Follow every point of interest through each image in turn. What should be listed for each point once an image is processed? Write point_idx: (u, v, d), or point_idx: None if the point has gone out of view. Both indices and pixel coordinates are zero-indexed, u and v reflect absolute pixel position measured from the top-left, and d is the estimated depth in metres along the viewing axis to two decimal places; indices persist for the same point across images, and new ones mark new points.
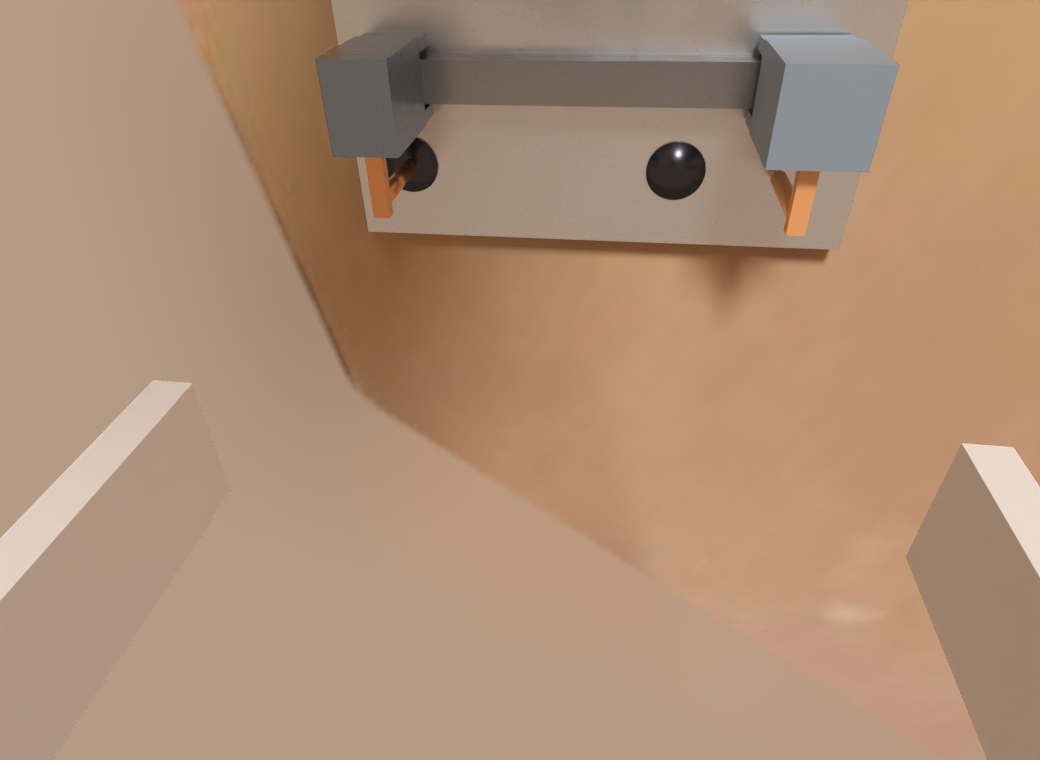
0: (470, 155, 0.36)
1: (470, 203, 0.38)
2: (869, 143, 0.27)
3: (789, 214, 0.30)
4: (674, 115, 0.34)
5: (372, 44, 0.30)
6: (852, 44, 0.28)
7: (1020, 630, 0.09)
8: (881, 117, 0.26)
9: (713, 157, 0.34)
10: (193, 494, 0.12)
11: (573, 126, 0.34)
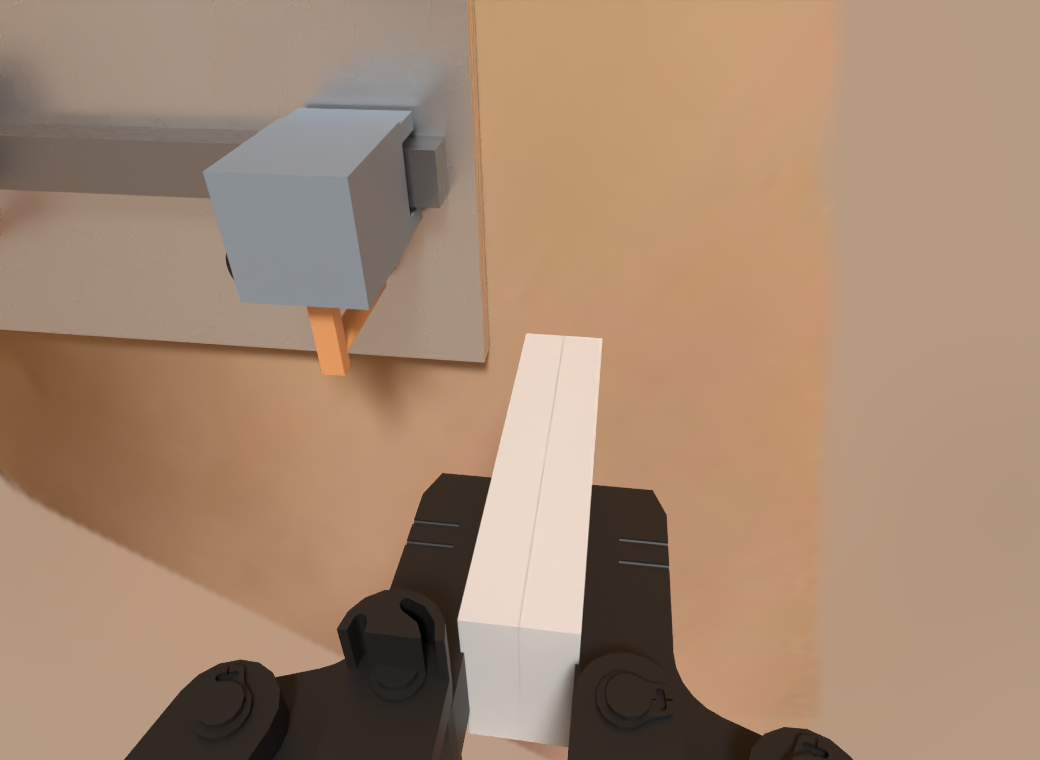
0: (17, 242, 0.29)
1: (40, 297, 0.30)
2: (354, 274, 0.19)
3: None
4: None
5: None
6: (366, 132, 0.21)
7: None
8: (354, 242, 0.19)
9: None
10: None
11: (123, 211, 0.27)
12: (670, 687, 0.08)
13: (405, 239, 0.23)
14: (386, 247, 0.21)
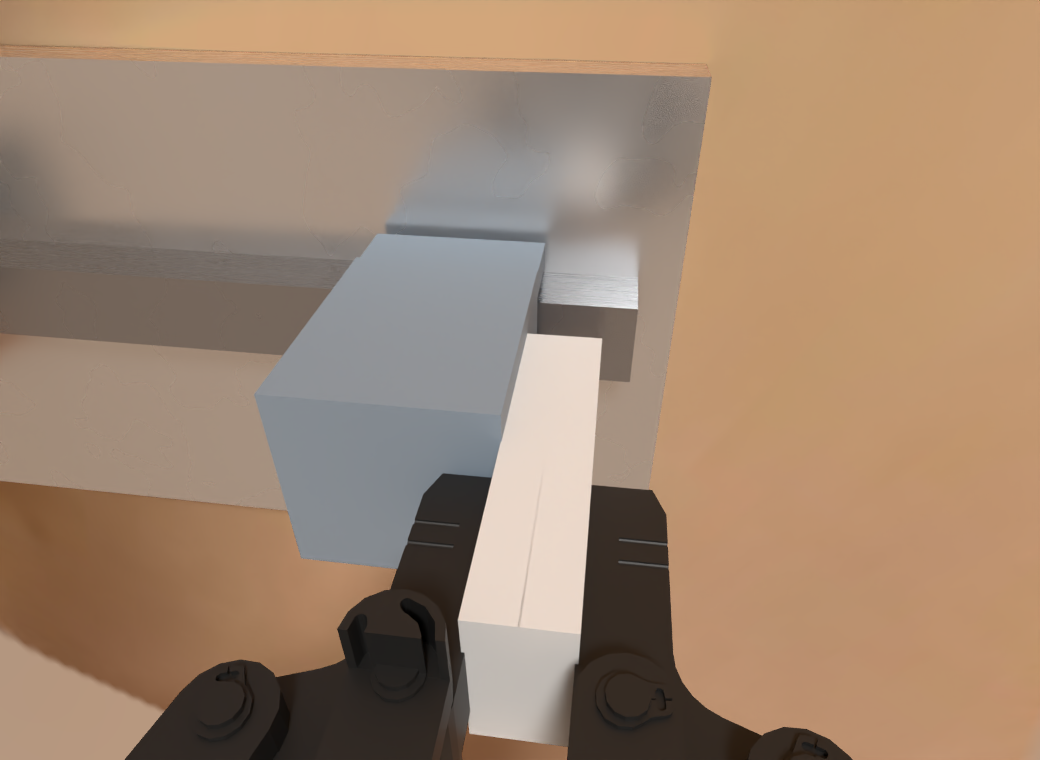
0: (15, 383, 0.21)
1: (44, 446, 0.23)
2: None
3: None
4: None
5: None
6: (495, 293, 0.14)
7: None
8: None
9: None
10: None
11: (161, 353, 0.20)
12: (669, 687, 0.08)
13: None
14: None
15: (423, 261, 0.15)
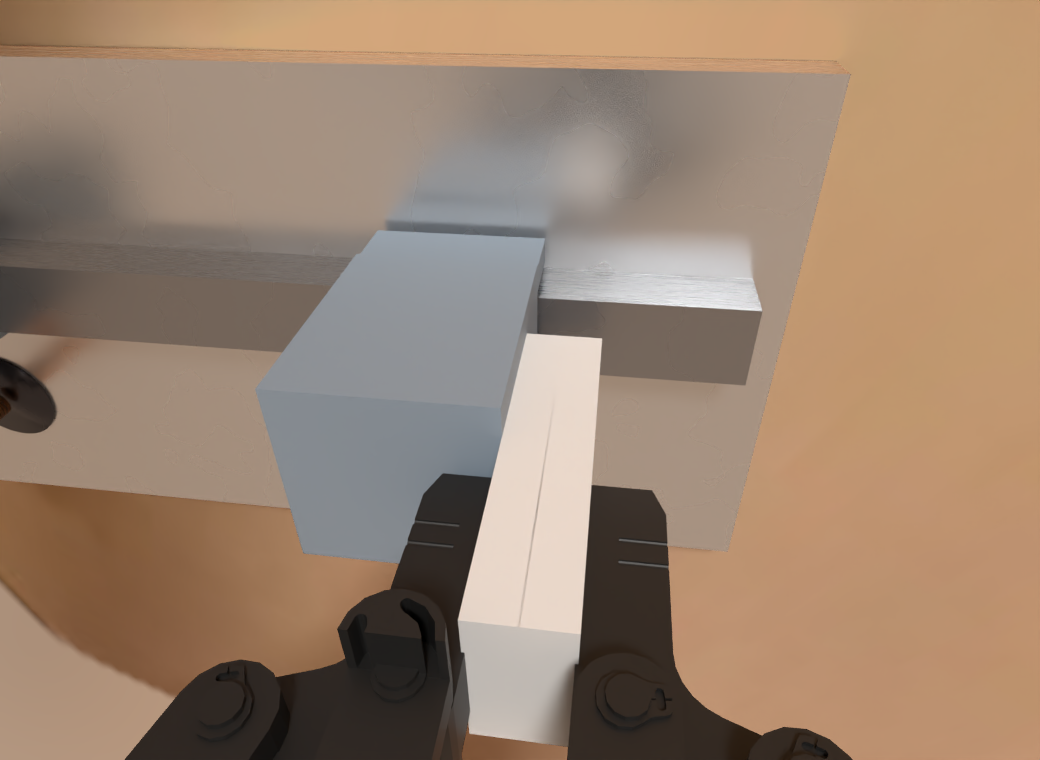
0: (97, 389, 0.21)
1: (121, 452, 0.23)
2: None
3: None
4: None
5: None
6: (495, 288, 0.14)
7: None
8: None
9: None
10: None
11: (250, 358, 0.19)
12: (669, 687, 0.08)
13: None
14: None
15: (423, 257, 0.15)
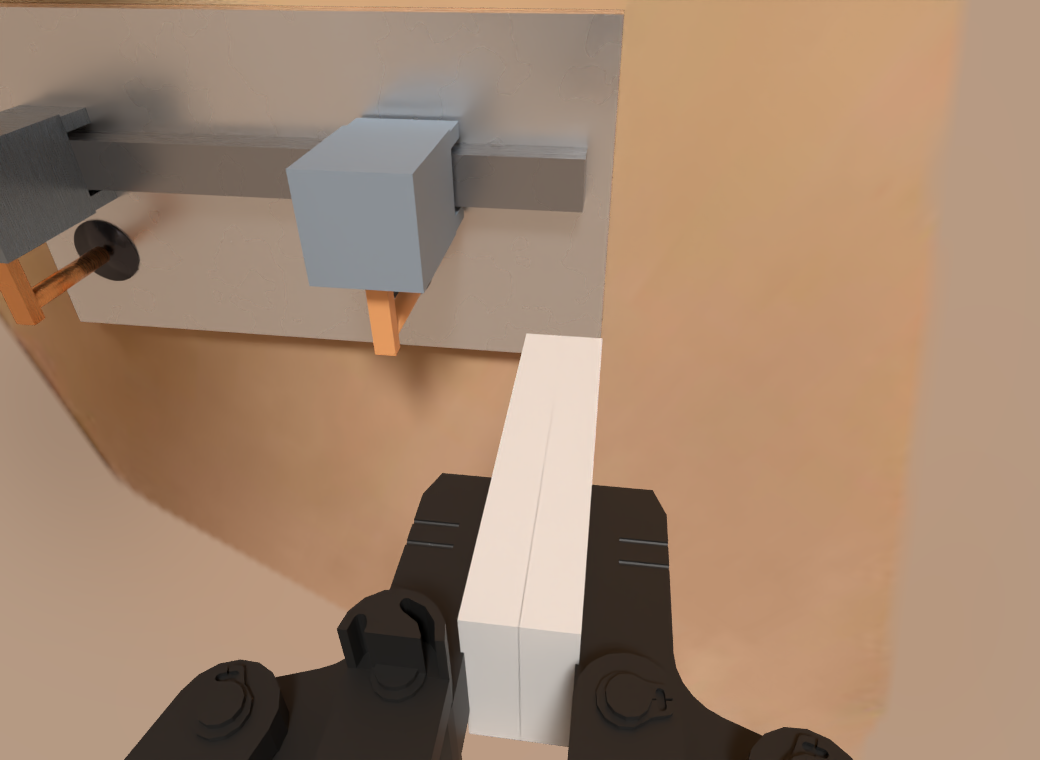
0: (169, 243, 0.31)
1: (182, 295, 0.33)
2: (412, 261, 0.22)
3: None
4: None
5: None
6: (421, 137, 0.24)
7: None
8: (414, 232, 0.22)
9: None
10: None
11: (274, 215, 0.29)
12: (669, 687, 0.08)
13: (451, 234, 0.26)
14: (437, 240, 0.24)
15: None
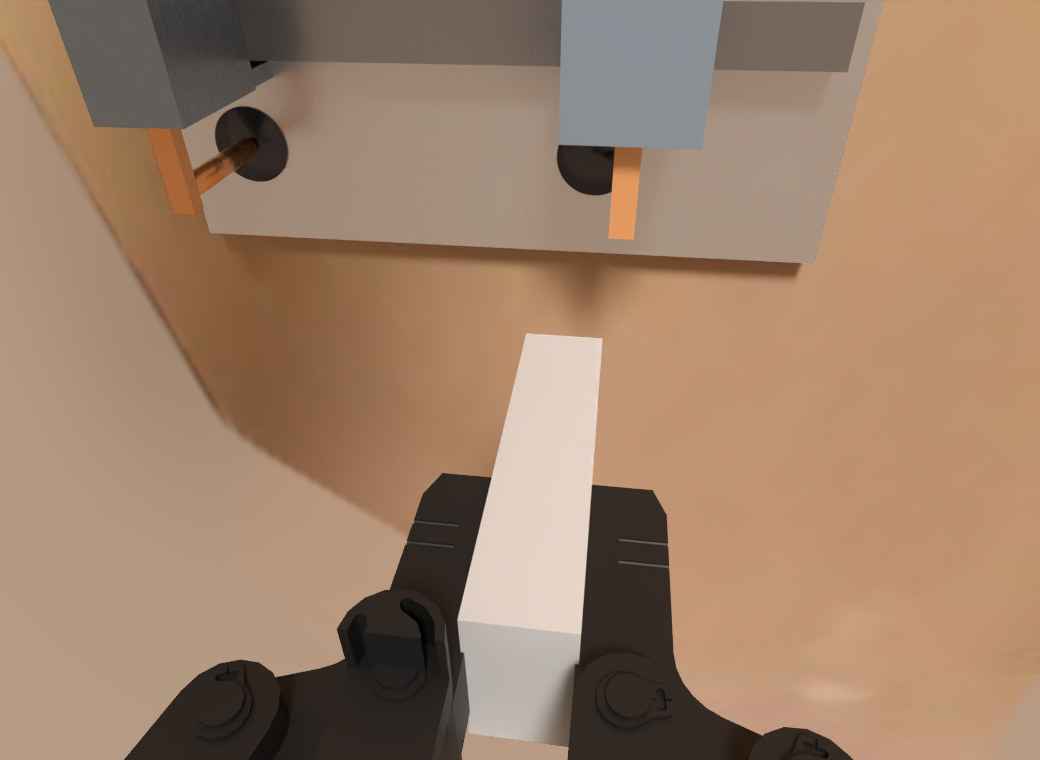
0: (327, 133, 0.27)
1: (333, 197, 0.29)
2: (697, 106, 0.18)
3: None
4: None
5: None
6: None
7: None
8: (709, 66, 0.18)
9: None
10: None
11: (457, 94, 0.26)
12: (669, 687, 0.08)
13: None
14: None
15: None
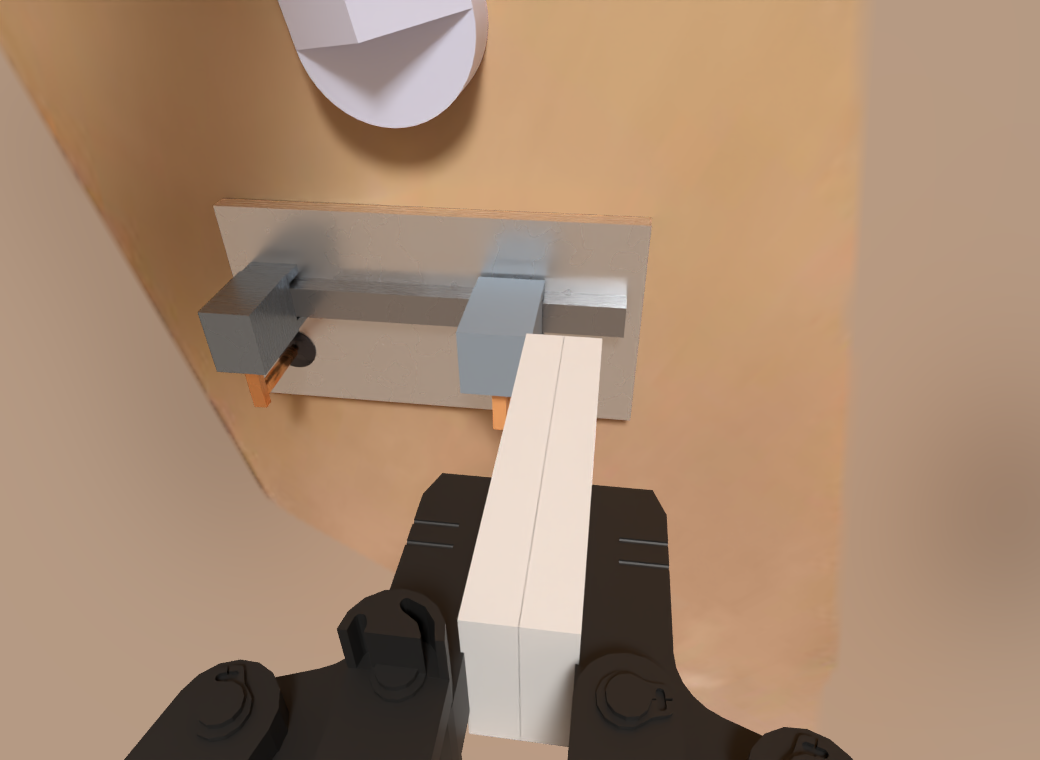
0: (339, 344, 0.46)
1: (343, 376, 0.47)
2: None
3: (493, 415, 0.40)
4: None
5: (247, 287, 0.40)
6: (527, 300, 0.38)
7: None
8: None
9: None
10: None
11: (415, 329, 0.44)
12: (670, 687, 0.08)
13: None
14: None
15: (499, 288, 0.40)
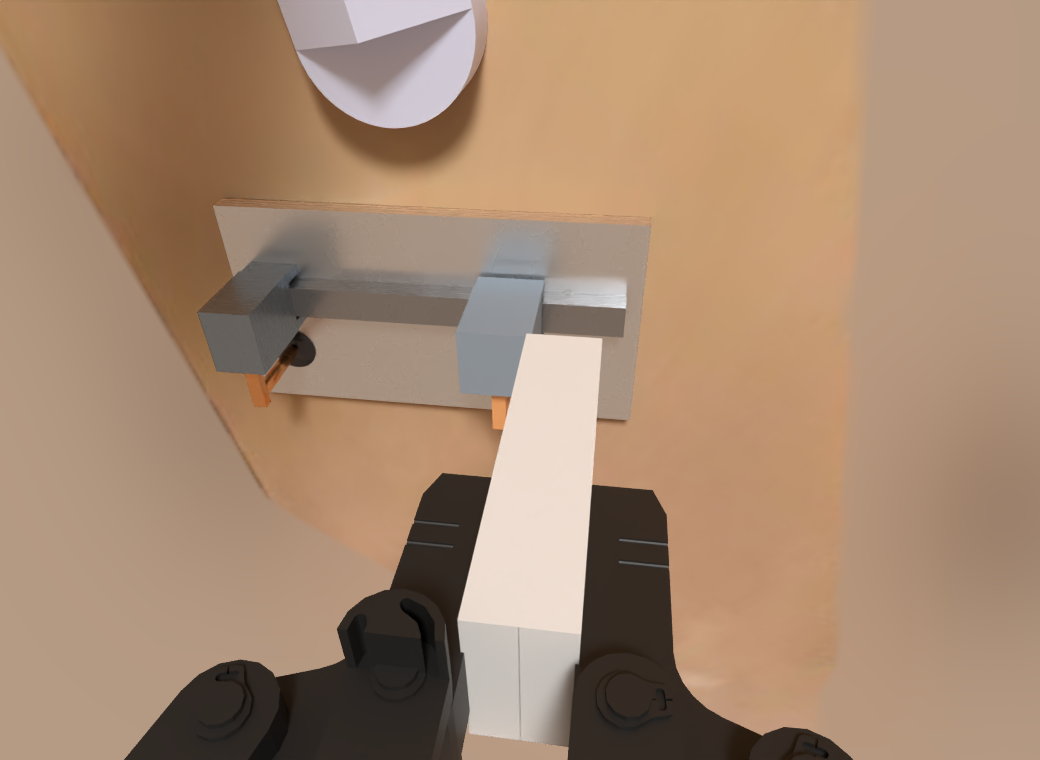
0: (339, 344, 0.46)
1: (343, 376, 0.47)
2: None
3: None
4: None
5: (247, 287, 0.40)
6: (526, 300, 0.38)
7: None
8: None
9: None
10: None
11: (415, 329, 0.44)
12: (670, 687, 0.08)
13: None
14: None
15: (498, 288, 0.40)
